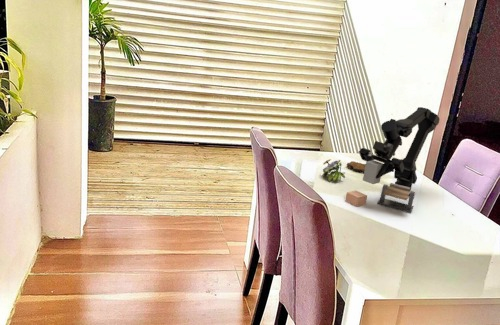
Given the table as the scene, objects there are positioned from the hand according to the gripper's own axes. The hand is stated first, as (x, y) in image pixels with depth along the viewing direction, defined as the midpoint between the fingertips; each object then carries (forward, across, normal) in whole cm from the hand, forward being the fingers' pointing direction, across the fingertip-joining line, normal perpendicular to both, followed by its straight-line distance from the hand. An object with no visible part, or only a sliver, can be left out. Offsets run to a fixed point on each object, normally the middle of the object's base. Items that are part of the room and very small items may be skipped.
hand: (370, 175), depth 188 cm
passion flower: (-2, -28, +22) cm, 35 cm away
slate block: (+1, 0, +3) cm, 3 cm away
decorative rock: (-21, -29, +41) cm, 55 cm away
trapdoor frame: (0, +7, +19) cm, 20 cm away
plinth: (+10, -4, +9) cm, 14 cm away
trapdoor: (-2, +8, +12) cm, 15 cm away
